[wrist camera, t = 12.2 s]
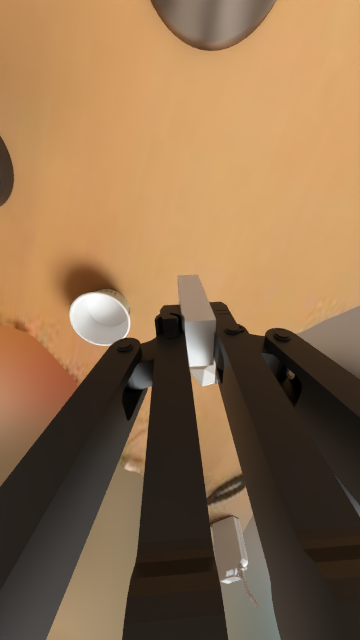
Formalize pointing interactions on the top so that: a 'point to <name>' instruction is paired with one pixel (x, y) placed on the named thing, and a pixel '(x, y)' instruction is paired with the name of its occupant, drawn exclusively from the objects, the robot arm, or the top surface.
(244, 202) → the top surface
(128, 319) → the food container
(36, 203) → the top surface
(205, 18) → the dial base
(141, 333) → the top surface
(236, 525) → the gas can
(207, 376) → the die
